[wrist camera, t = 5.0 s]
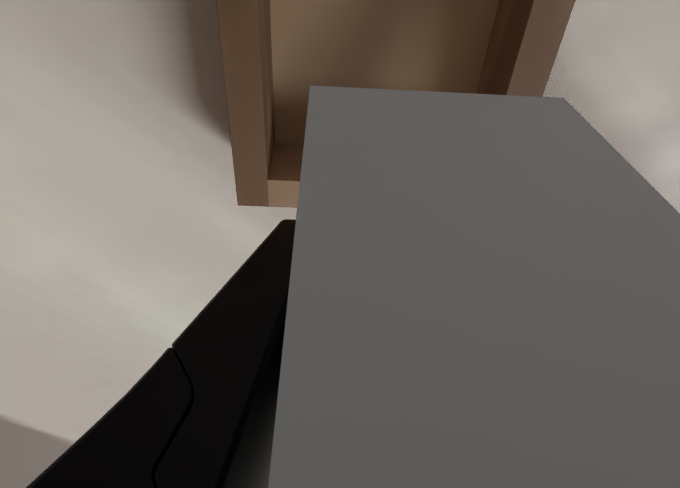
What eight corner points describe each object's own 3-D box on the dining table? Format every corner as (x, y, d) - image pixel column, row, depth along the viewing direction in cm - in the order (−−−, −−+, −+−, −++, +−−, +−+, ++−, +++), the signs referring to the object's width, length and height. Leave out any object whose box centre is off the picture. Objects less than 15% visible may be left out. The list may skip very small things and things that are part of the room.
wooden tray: (562, -121, 14) (616, -118, 12) (479, 170, 21) (501, 215, 18) (226, -145, 14) (200, -147, 11) (250, 160, 20) (238, 205, 18)
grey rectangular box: (563, 98, 8) (1024, 559, 3) (495, 280, 11) (653, 682, 6) (309, 85, 8) (261, 556, 2) (307, 274, 11) (282, 684, 5)
